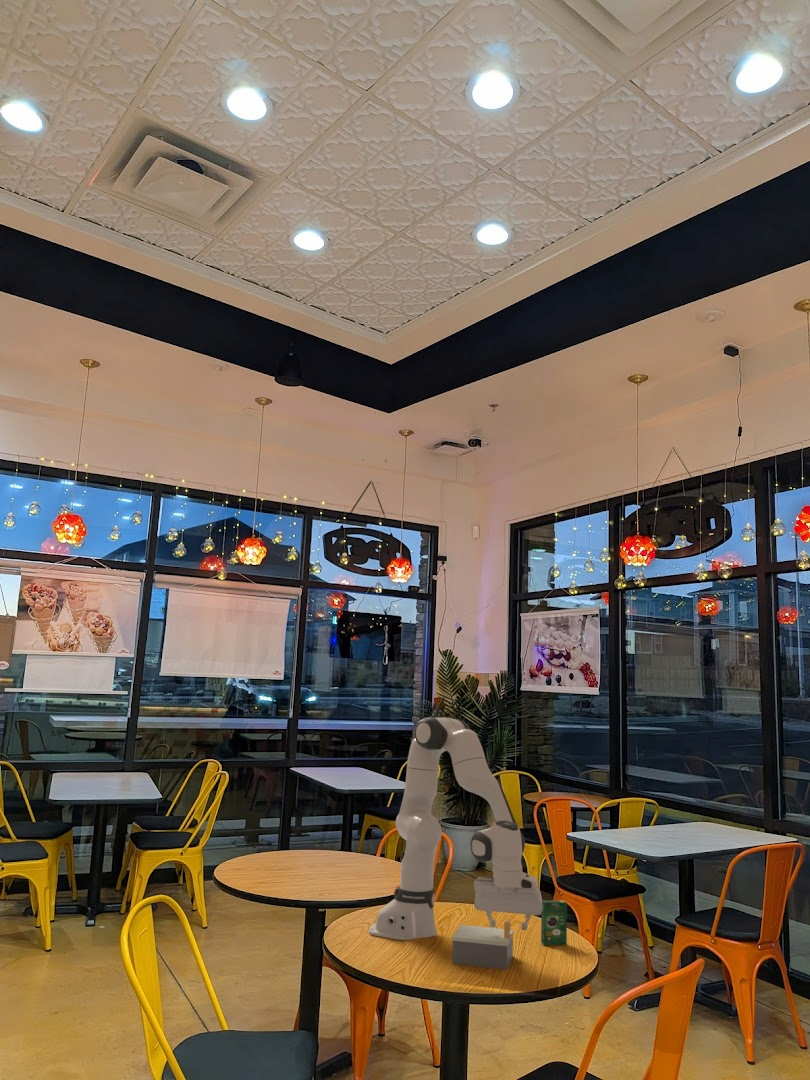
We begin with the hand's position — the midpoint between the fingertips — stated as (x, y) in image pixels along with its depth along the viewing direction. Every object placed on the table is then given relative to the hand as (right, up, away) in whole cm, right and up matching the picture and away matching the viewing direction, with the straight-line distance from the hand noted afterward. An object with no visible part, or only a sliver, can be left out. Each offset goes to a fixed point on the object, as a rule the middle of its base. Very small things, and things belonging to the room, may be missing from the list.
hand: (508, 928), depth 230 cm
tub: (-8, -10, 0) cm, 13 cm away
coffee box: (+17, -15, +19) cm, 30 cm away
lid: (-7, -3, +1) cm, 8 cm away
